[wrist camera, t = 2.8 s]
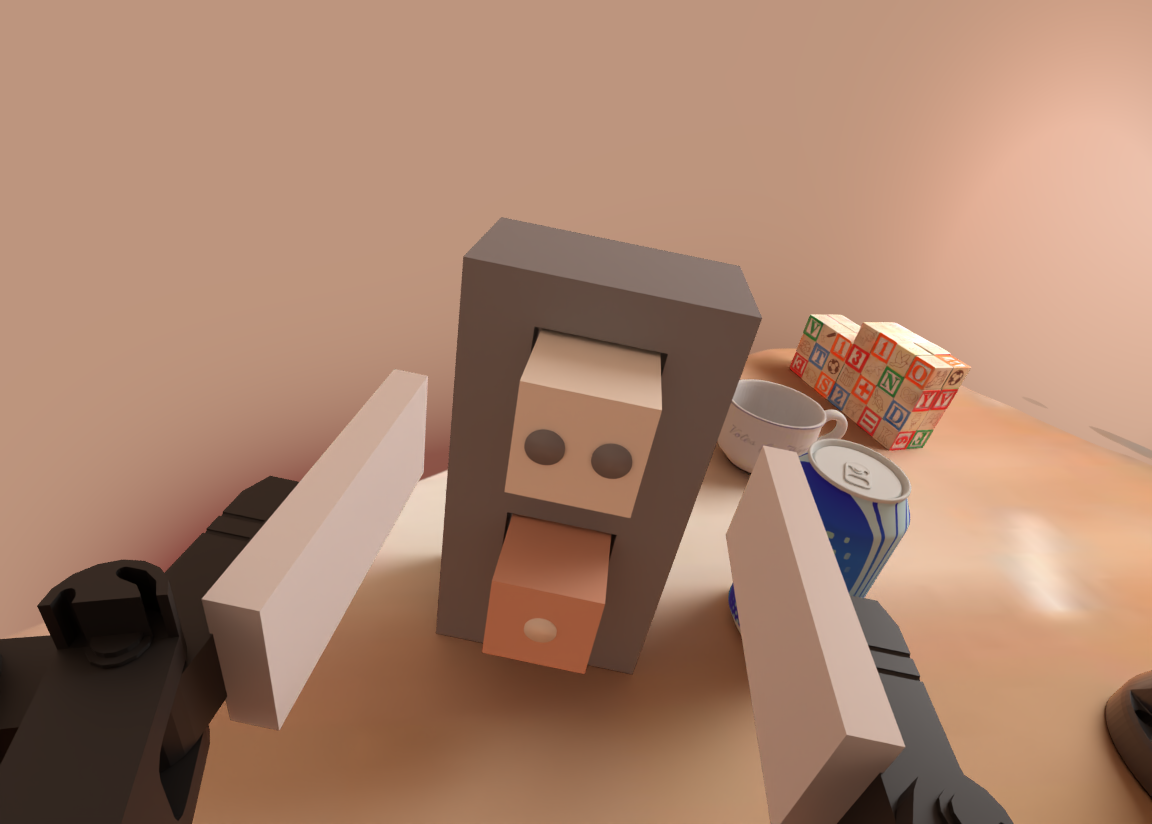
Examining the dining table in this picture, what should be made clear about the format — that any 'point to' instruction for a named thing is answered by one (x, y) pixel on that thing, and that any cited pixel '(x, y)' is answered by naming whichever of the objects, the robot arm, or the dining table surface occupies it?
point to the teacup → (773, 422)
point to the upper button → (584, 422)
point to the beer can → (855, 509)
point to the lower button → (547, 593)
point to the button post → (605, 312)
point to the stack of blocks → (879, 377)
